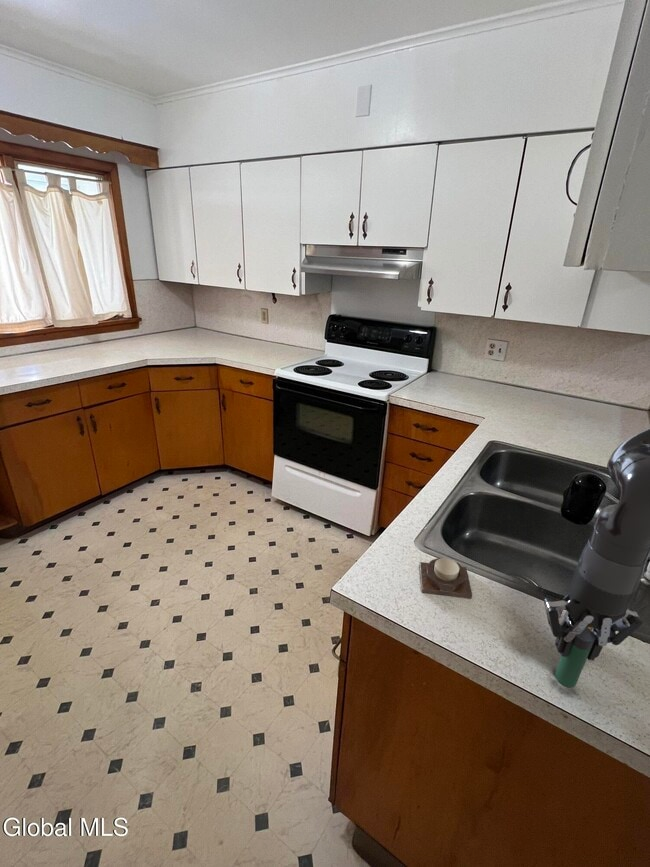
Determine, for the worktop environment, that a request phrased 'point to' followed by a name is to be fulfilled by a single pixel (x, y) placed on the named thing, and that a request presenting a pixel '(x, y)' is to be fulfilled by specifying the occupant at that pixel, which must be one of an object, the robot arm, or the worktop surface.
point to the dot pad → (446, 569)
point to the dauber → (575, 658)
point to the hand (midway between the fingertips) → (575, 653)
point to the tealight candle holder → (444, 582)
